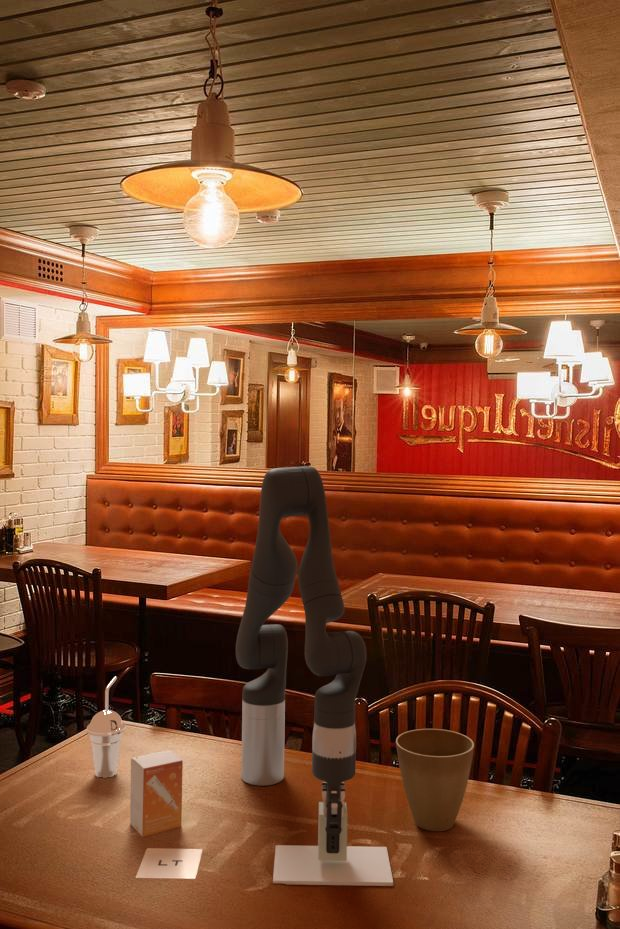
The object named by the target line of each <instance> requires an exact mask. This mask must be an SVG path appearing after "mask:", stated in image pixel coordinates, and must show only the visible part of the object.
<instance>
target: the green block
mask: <svg viewBox="0 0 620 929" xmlns="http://www.w3.org/2000/svg"><path fill="white" fill-rule="evenodd" d="M326 810H327V807H326ZM330 824H337V825H338V823H330ZM325 827H326V817H324V815H323V801H319V802H318V831H317V835H318V836H317V846H318V861H347V846H348V808H347V802H345V801H344V815H343V817H342V818H341V828H342V831H341V833H340V841H339V853H327V851H326V836H327V833H326V830H325Z"/></svg>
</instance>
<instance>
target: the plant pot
mask: <svg viewBox="0 0 620 929" xmlns="http://www.w3.org/2000/svg"><path fill="white" fill-rule="evenodd" d="M395 745H396V752H397V753H396V754H397V759H398V764H399V765H398V766H399V771H400V776H401V780H402V784H403V788H404V793H405V795H406V799H407V803H408V806H409V809H410V812H411V814H412V817H413V820H414V823H415V825H416V826H417V827H418V828H420V829H423V830H426V831H430V832H444V831H448V830H450V829H451V828H453V826H454V824H455V822H456V820H457V818H458V817H457V816H458V814H459V812H460V808H461V807H462V803H463V799H464V797H465V794H466V790H467V787H468V781H469V778H470V773H471V768H472V763H473V758H474V756H473V755H474V748H475V743H474V741H473V739H471V738H470V737H468V736H467V735H464V734H462V733H460V732H457V731H453V730H448V729H443V728H442V729H440V728H419V729H413V730H412V729H411V730H408V731H405V732H402V733H400V734H399V735H397V737H396V739H395Z"/></svg>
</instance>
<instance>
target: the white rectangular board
mask: <svg viewBox="0 0 620 929" xmlns="http://www.w3.org/2000/svg"><path fill="white" fill-rule="evenodd" d="M274 849H275V850H274V862H273V874H272V876H273V877H272V884H284V885H298V886H299V885H306V886H307V885H308V886H364V887H365V886H366V887H369V886H370V887H371V886H372V887H376V886H379V887H381V886H382V887H394V880H393V873H392V868H391V863H390V857H389V852H388V848H387V846H357V845H356V846H354V845H353V846H352V845H351V846H349V845H347V861H318V845H296V844H295V845H294V844H293V845H290V844H288V845H286V844H285V845H284V844H281V845H280V844H277V845H276V844H275V848H274Z"/></svg>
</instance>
